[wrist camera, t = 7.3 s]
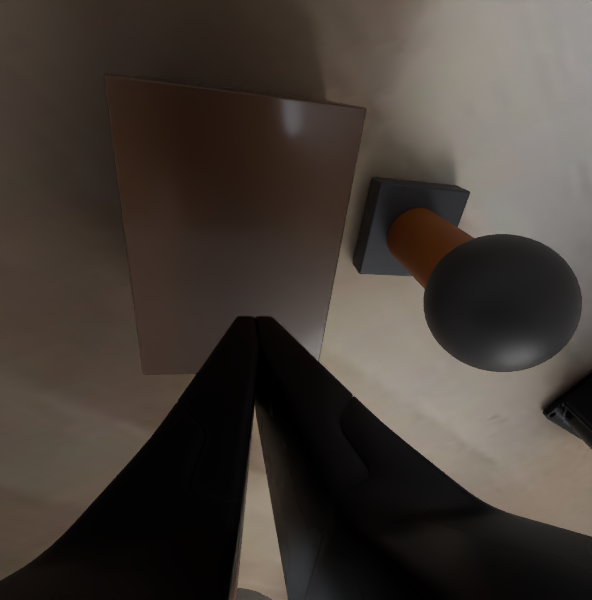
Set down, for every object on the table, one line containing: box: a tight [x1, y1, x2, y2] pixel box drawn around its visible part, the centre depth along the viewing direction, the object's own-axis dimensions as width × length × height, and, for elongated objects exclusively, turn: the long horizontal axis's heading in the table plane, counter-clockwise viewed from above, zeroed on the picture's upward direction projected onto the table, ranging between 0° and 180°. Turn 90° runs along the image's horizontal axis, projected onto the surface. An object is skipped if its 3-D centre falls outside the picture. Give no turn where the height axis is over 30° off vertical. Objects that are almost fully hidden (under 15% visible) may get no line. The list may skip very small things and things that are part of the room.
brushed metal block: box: [104, 74, 366, 375], centre depth 14 cm, size 7×10×5 cm
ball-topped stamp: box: [353, 177, 582, 372], centre depth 14 cm, size 8×4×10 cm
